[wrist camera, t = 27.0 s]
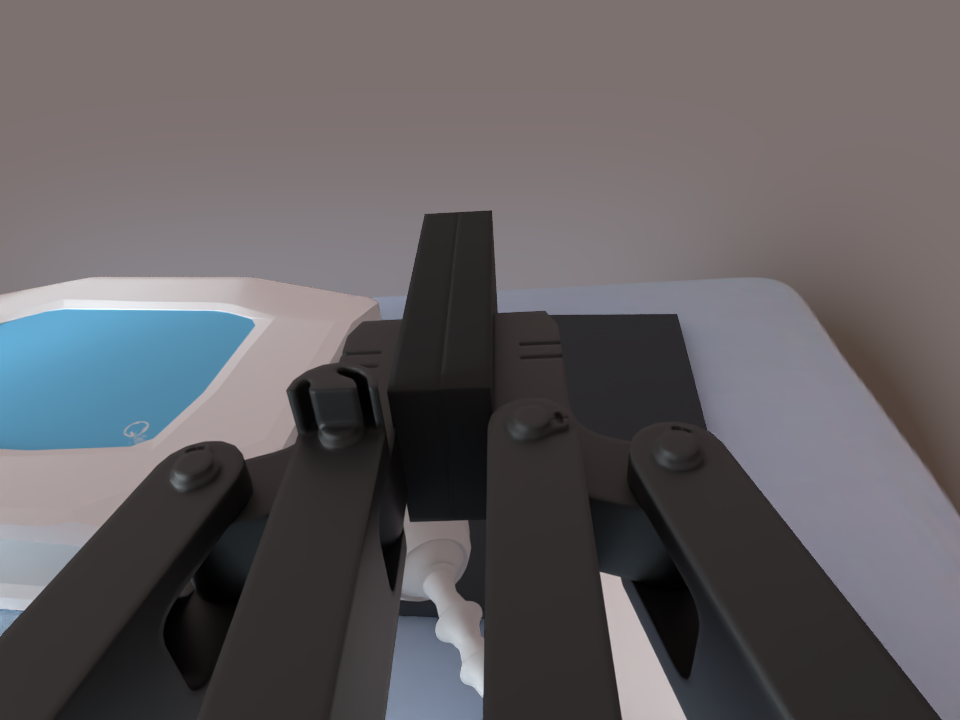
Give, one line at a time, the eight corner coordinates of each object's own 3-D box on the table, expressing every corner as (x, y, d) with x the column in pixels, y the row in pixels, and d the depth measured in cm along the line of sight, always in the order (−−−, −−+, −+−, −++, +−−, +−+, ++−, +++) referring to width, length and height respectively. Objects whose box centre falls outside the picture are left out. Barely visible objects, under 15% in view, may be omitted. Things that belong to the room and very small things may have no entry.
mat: (325, 612, 30) (321, 600, 29) (421, 325, 50) (419, 315, 49) (753, 633, 28) (757, 621, 27) (676, 323, 47) (677, 313, 47)
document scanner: (25, 349, 51) (-15, 274, 47) (391, 357, 46) (376, 275, 43) (-267, 587, 33) (-365, 496, 30) (269, 635, 29) (229, 535, 26)
